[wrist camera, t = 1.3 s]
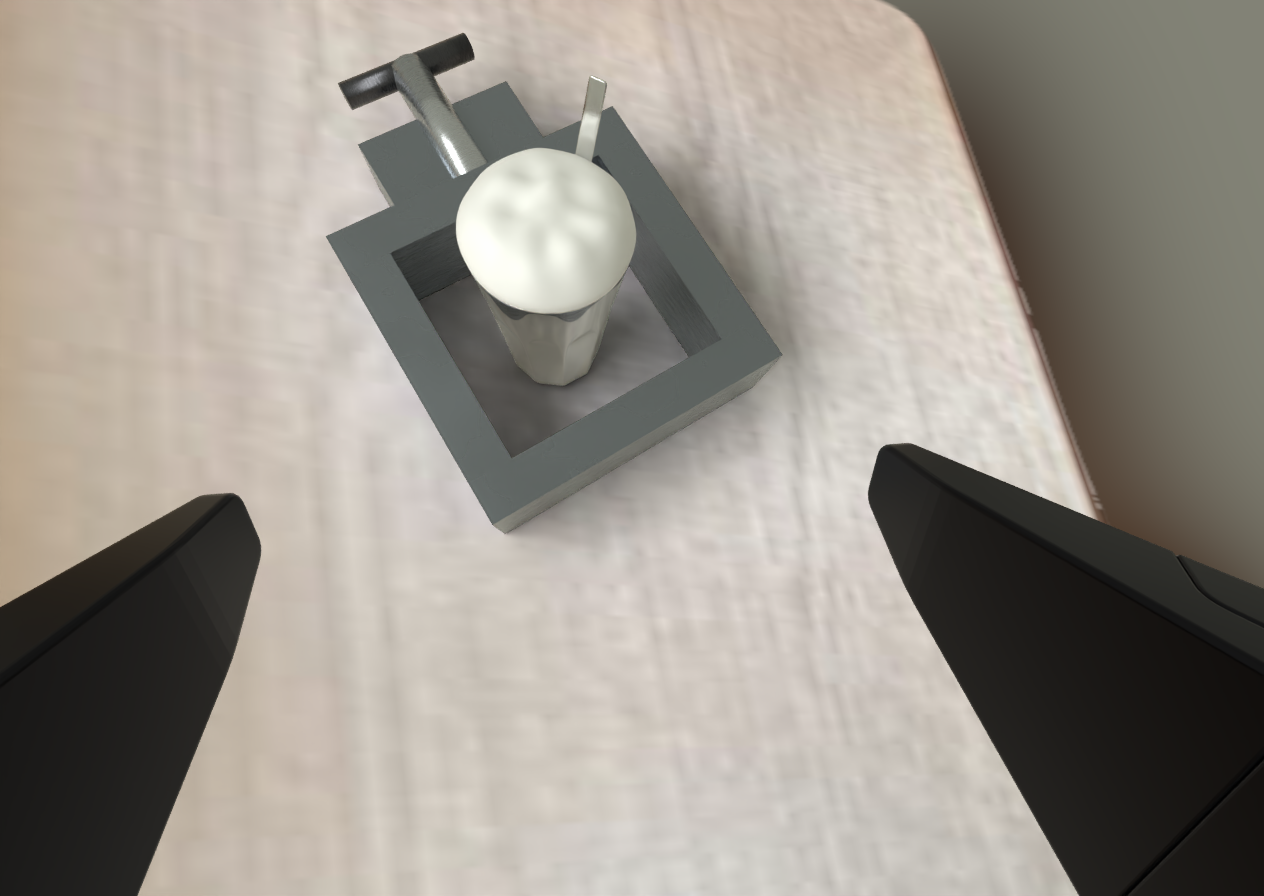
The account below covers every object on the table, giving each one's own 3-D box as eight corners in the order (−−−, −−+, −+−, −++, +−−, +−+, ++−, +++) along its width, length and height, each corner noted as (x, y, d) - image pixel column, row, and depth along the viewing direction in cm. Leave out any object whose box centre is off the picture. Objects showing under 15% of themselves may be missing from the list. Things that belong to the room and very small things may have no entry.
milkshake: (640, 304, 24) (686, 117, 14) (585, 422, 23) (595, 303, 13) (536, 258, 24) (512, 39, 14) (474, 373, 23) (403, 218, 13)
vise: (752, 387, 24) (782, 354, 20) (504, 534, 22) (492, 525, 18) (535, 63, 26) (530, -15, 23) (291, 166, 24) (245, 97, 21)
